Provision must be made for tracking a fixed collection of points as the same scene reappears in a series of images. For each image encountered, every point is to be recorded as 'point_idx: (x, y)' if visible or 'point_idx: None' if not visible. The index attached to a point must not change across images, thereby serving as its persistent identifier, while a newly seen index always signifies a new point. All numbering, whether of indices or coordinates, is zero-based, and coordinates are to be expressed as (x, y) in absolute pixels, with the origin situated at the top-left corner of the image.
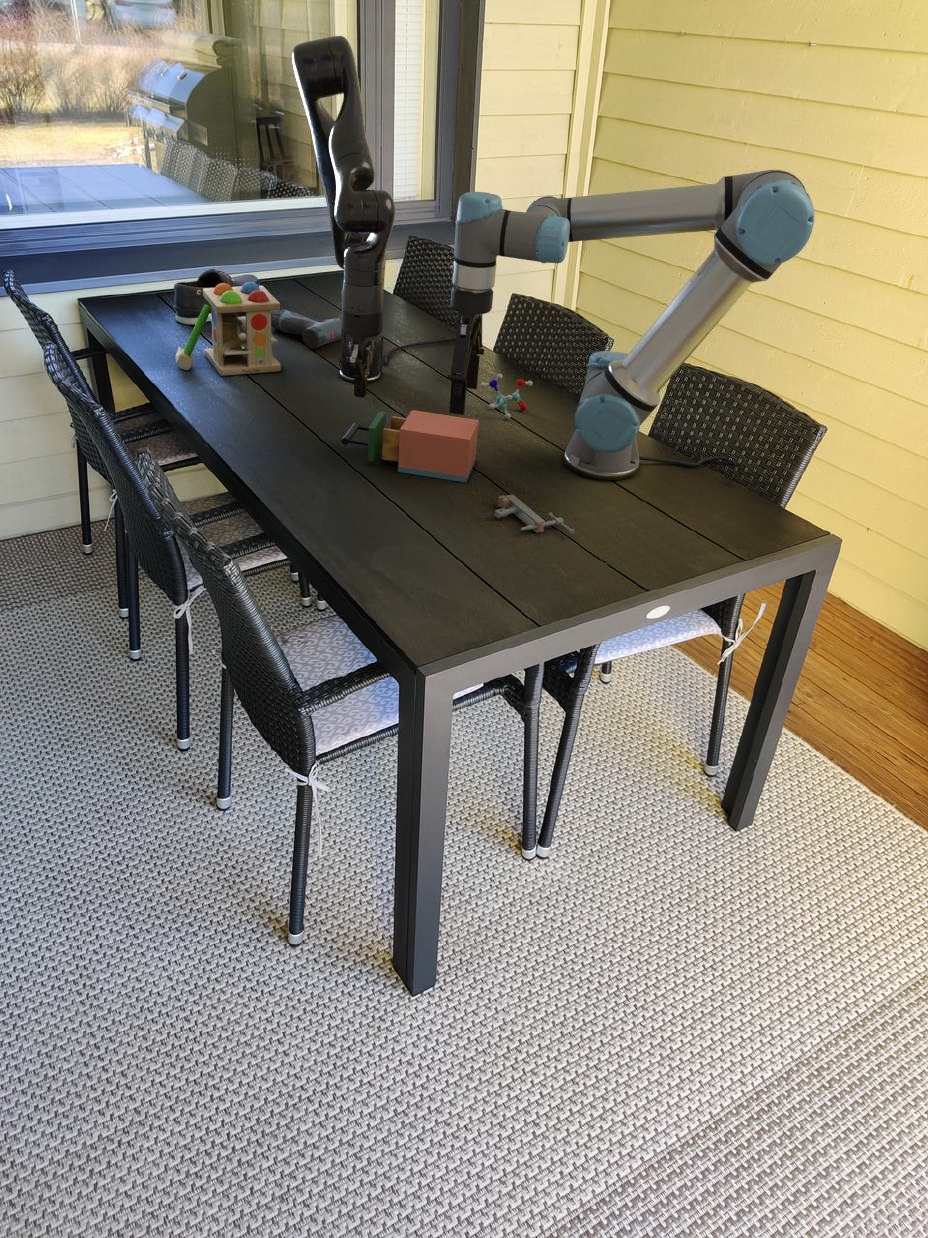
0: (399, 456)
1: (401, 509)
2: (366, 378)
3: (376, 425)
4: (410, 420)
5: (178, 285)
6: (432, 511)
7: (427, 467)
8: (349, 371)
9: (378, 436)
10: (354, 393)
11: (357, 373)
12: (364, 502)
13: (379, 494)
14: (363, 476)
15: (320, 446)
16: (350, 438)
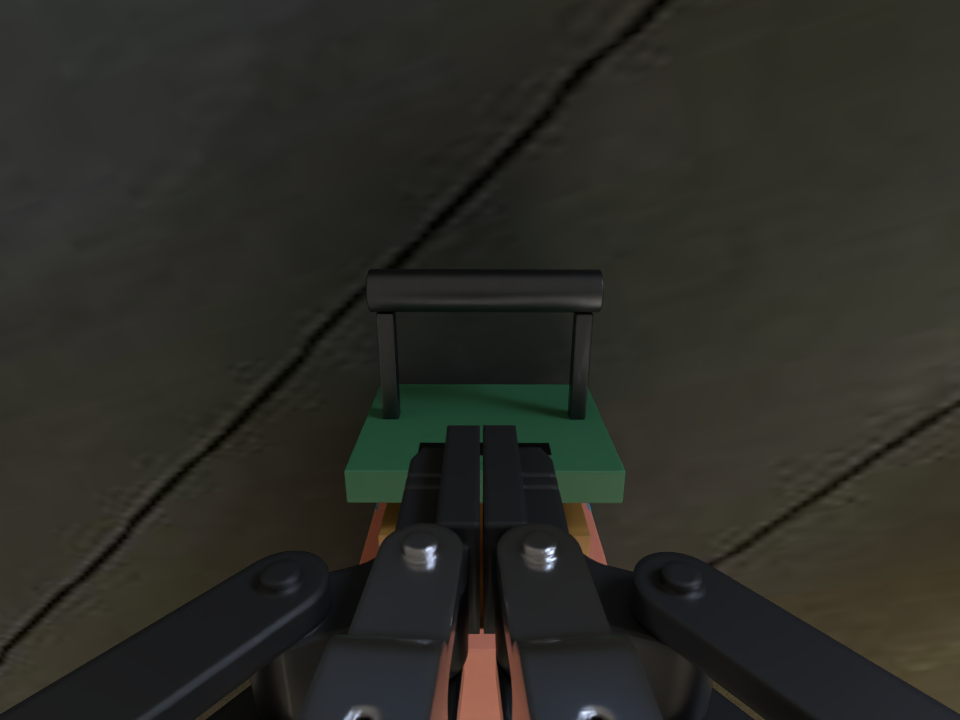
0: (366, 542)
1: (90, 567)
2: (484, 632)
3: (395, 502)
4: (475, 670)
5: None
6: None
7: None
8: (90, 672)
9: None
10: (446, 435)
11: (259, 689)
12: (61, 445)
13: (155, 478)
14: (273, 385)
15: (503, 96)
16: (411, 311)
